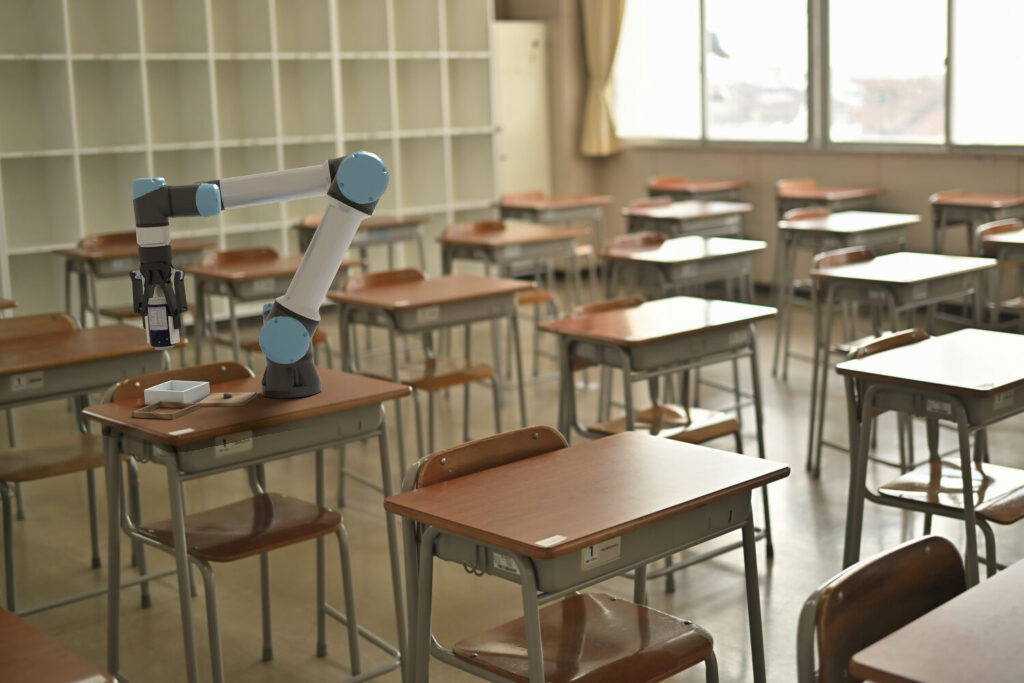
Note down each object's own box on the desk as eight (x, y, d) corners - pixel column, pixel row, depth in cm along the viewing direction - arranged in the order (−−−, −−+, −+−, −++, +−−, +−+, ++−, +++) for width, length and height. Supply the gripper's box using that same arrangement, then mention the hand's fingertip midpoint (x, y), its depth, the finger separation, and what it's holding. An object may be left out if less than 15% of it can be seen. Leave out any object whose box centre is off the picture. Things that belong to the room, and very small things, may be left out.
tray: (210, 396, 297) (209, 382, 296) (184, 406, 287) (183, 391, 286) (172, 394, 301) (170, 380, 300) (145, 404, 290) (143, 389, 290)
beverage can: (180, 348, 279) (175, 297, 277) (156, 351, 276) (151, 300, 273) (171, 345, 283) (166, 295, 281) (148, 348, 280) (143, 298, 278)
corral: (200, 408, 284) (200, 403, 284) (173, 419, 274) (172, 414, 274) (160, 405, 288) (160, 401, 288) (132, 416, 277) (131, 411, 277)
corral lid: (256, 395, 296) (256, 388, 296) (243, 405, 285) (243, 398, 285) (212, 395, 297) (212, 388, 297) (198, 406, 286) (197, 399, 286)
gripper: (198, 242, 276) (206, 340, 280) (129, 243, 281) (138, 339, 286) (180, 246, 269) (189, 346, 273) (110, 246, 274) (120, 345, 279)
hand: (163, 342), depth 279 cm, fingers closed on beverage can, 6 cm apart
